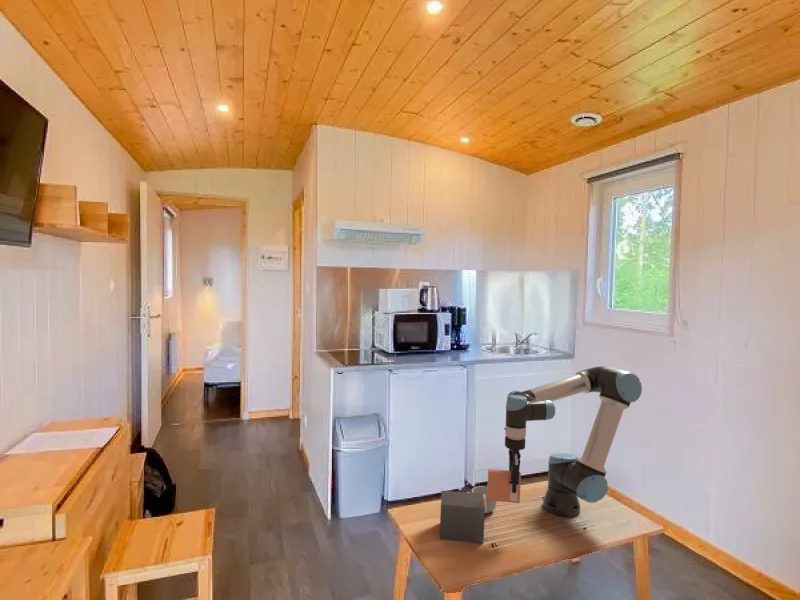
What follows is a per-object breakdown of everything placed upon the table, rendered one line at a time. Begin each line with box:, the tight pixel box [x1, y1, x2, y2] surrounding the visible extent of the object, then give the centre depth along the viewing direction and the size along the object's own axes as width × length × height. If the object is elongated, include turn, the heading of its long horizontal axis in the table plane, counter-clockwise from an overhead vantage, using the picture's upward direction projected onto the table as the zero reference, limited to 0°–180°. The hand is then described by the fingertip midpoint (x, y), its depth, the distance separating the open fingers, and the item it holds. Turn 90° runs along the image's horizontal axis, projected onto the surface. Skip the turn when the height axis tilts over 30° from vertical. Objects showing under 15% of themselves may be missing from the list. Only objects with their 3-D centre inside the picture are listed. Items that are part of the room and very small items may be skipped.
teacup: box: [465, 485, 498, 514], centre depth 195 cm, size 14×11×8 cm
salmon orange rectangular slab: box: [486, 468, 522, 504], centre depth 176 cm, size 12×2×11 cm, turn 83°
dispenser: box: [439, 490, 488, 544], centre depth 176 cm, size 17×12×13 cm
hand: (512, 498), depth 176 cm, fingers closed on salmon orange rectangular slab, 2 cm apart
